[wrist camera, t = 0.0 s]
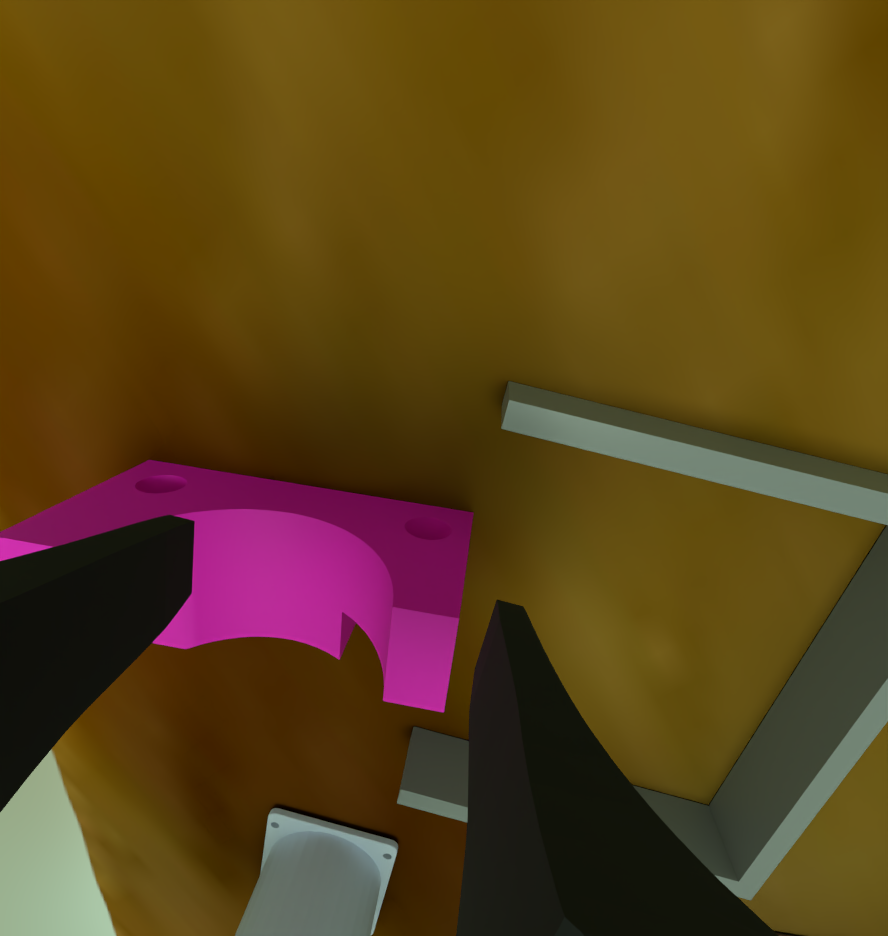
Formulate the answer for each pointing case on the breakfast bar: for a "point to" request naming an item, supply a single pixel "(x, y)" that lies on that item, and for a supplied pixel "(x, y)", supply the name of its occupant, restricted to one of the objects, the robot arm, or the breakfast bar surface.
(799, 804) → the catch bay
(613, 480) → the breakfast bar surface
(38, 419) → the breakfast bar surface
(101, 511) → the toy block
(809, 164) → the breakfast bar surface
